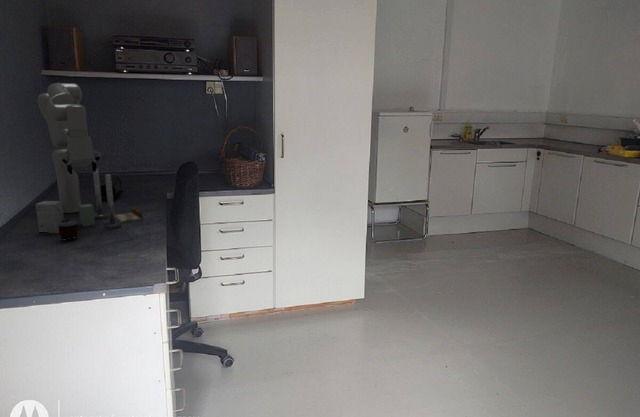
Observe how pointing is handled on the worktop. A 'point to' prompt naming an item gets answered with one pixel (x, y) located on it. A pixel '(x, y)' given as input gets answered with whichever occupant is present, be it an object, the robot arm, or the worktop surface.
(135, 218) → the breaker board
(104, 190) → the muzzle brake
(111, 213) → the near post
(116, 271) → the worktop surface
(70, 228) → the mate gourd
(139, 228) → the worktop surface
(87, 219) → the green block
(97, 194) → the far post
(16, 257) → the worktop surface
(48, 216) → the small box
